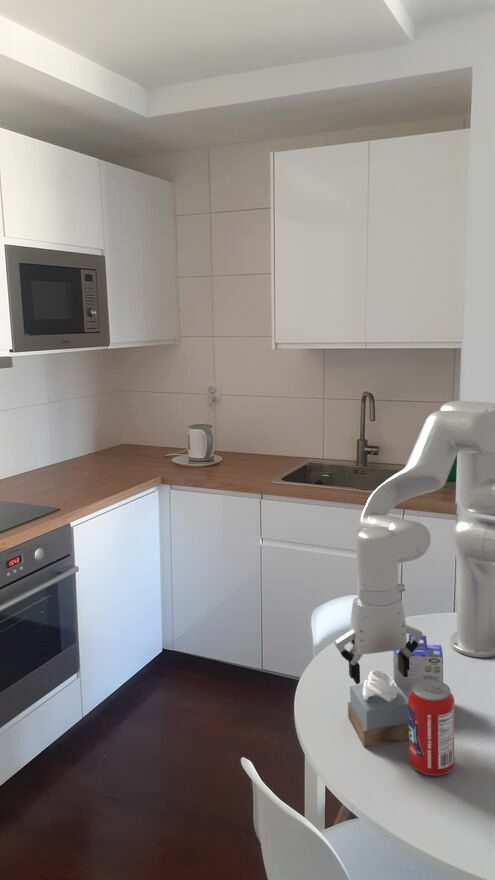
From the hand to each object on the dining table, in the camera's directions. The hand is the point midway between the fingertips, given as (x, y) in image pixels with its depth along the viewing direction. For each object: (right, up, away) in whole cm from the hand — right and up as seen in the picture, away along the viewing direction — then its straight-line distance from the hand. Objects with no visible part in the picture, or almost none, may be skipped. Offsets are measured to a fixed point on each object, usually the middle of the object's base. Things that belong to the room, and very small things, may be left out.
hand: (379, 677), depth 135 cm
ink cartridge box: (+10, -9, +10) cm, 17 cm away
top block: (0, -7, +1) cm, 8 cm away
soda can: (+8, -13, -10) cm, 18 cm away
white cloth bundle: (0, -4, +1) cm, 4 cm away
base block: (+1, -11, +2) cm, 12 cm away
